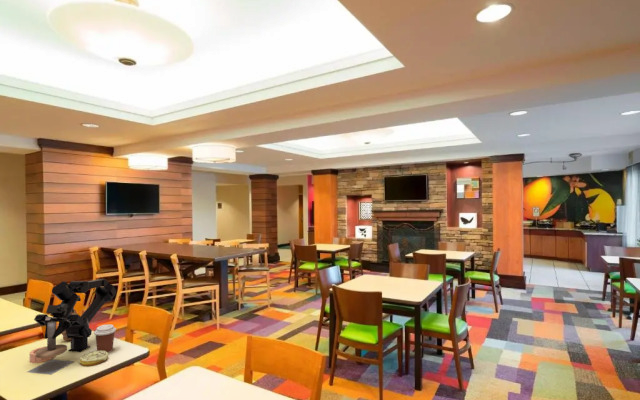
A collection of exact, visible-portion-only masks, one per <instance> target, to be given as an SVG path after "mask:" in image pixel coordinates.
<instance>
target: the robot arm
mask: <svg viewBox="0 0 640 400" xmlns="http://www.w3.org/2000/svg"><path fill="white" fill-rule="evenodd" d="M92 289H95V293H96V294H95V295H96V298H95V299H94V300H93V301H92V302H91V304H90V305H89V306H88V307H87V308H86V310H85V311H84V312H83V313H82V314H81V315H79V314H78V313H77V314H71V312H74V310H73V308H74V309H75V307H76V304H77V303H78V302H81V300H82V299H81V297H80V296H81V295H78V294H84V293H86V292H88V291H89V290H92ZM51 293H52V294H53V295H54V296H55V297H56V298H57V299H58V300H59V301H60V304H59V303H58V304H49V305H47V309H46V312H45V314H44V313H42V314H40V313H39V314H36V315H35V317H34V319H33V320H34V321H35V323H37V324H38V325H39V326H45V331H44V339H45V340H47V325H48V322H51V321H56V323H58V325H57V326H56V331H55V333H54V335H53V337H52V338H53V339H55V338H56V339H57V338H58V336H60V335H62V332H63V331H65V330H66V334H67V337H68V338H71V340H70V349H68V352H72V353H81V352H83V351H84V350H87V349H89V348H91V345H88V343H89V339H88V338H89V337H90V336H91V335H92V331H93V330H92V329H91V328H90V322H91V321H92V320H93V318H94V317H95V315H96V314H98V312H99V311H100V310H101V309H102V307H103V306H104V305H105V304H106V303H107V302H109V301H111V300H113V298H114V297H115V296H116V295H117V289H116V288H115V286H114V285H113V284H111V283H110V282H109V280H108V279H106V278H97V279H92V280H87V281H86V280H71V281H70V282H69V283H68V282H67V281H61V282H60V283H58V284H56V285H55V286H53V287H52V289H51ZM46 313H47V314H46ZM48 313H49V314H50V316H49V315H48ZM70 314H71V315H70Z"/></svg>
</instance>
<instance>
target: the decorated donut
mask: <svg viewBox="0 0 640 400" xmlns="http://www.w3.org/2000/svg"><path fill="white" fill-rule="evenodd" d="M108 357H109V353H107V352H106V351H97V350H94V351H90V352H87V353H84V354H82V355H81V356H80V357H79V363H80V364H81V365H82V366H84V367H85V366H86V367H91V366H96V365H99V364H101V363H104V362H105V361H106V360H107V359H108Z"/></svg>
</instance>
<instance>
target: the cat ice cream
mask: <svg viewBox="0 0 640 400" xmlns="http://www.w3.org/2000/svg"><path fill="white" fill-rule="evenodd" d="M73 310H74V312H71V314H78V313H77V310H76V309H75V307H74V308H73ZM71 314H70V315H71ZM61 335H62V339H63V340H64V341H65V342H71V338H68V337H67V334H66V330H65V331H63V332H62V333H61Z"/></svg>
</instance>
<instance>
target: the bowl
mask: <svg viewBox="0 0 640 400" xmlns="http://www.w3.org/2000/svg"><path fill="white" fill-rule="evenodd" d="M43 347H44V346H42V347H41V346H40V347H38V348H35V349H32V350H31V351H30V352H29V363H31V364H40V363H45V362H47V361H50V360H52V359H54V358H55V357H56V356H53V357H48V358H38V357H36V356H35V353H36V351H37V350H39V349H41V348H43ZM45 347H47V345H46V346H45Z"/></svg>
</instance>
